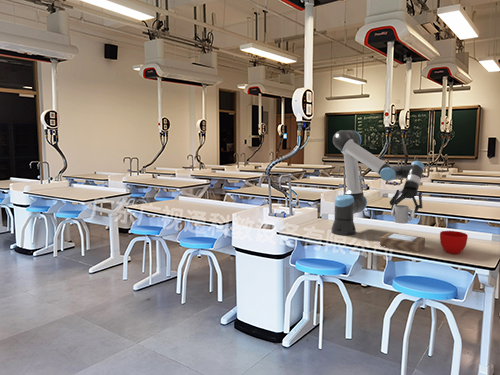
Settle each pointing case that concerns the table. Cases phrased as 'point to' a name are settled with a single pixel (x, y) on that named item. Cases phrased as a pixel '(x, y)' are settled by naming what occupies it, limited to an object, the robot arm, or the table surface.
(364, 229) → the table surface
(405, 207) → the cup
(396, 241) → the plinth
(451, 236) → the ceramic cup
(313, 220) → the table surface
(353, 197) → the robot arm
